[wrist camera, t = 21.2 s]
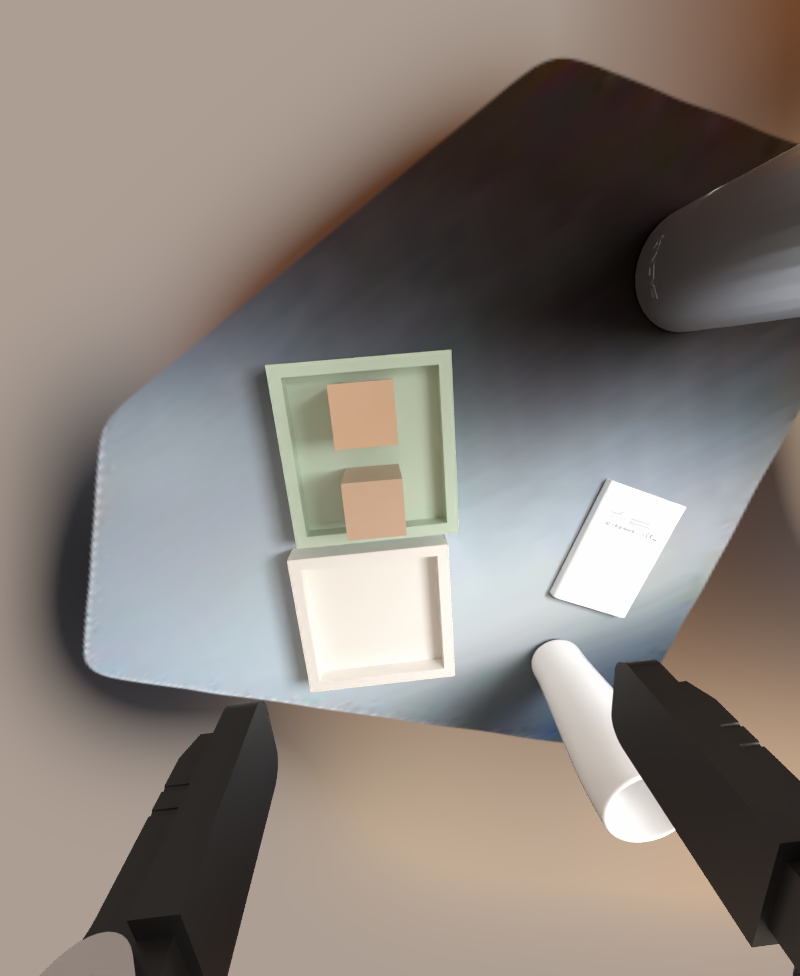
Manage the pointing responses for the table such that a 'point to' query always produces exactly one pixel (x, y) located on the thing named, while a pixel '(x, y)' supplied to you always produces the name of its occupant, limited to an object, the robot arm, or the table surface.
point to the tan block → (373, 502)
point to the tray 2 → (374, 611)
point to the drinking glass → (596, 743)
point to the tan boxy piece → (363, 414)
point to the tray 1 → (321, 467)
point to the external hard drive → (616, 549)
